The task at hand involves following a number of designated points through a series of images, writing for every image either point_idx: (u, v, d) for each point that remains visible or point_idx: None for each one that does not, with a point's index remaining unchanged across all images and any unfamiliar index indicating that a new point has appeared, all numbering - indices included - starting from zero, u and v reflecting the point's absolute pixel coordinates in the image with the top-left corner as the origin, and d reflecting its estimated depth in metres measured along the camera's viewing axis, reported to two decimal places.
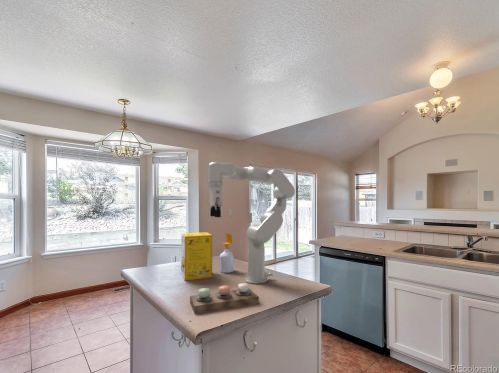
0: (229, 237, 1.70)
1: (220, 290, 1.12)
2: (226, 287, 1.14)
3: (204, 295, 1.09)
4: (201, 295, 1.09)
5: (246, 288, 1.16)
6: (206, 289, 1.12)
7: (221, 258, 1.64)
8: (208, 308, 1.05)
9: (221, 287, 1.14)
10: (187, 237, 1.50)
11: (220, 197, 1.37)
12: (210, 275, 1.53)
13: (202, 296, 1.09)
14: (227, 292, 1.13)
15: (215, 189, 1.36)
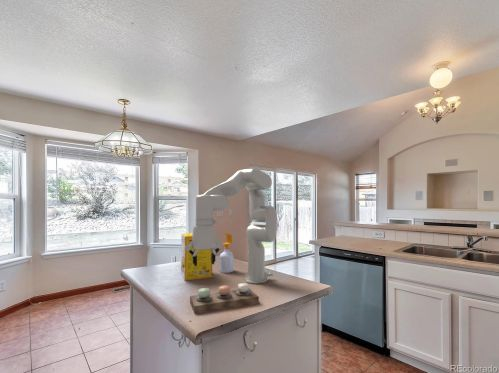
0: (229, 237, 1.70)
1: (220, 290, 1.12)
2: (226, 287, 1.14)
3: (204, 295, 1.09)
4: (201, 295, 1.09)
5: (246, 288, 1.16)
6: (206, 289, 1.12)
7: (221, 258, 1.64)
8: (208, 308, 1.05)
9: (221, 287, 1.14)
10: (187, 237, 1.50)
11: None
12: (210, 275, 1.53)
13: (202, 296, 1.09)
14: (227, 292, 1.13)
15: (214, 228, 1.13)
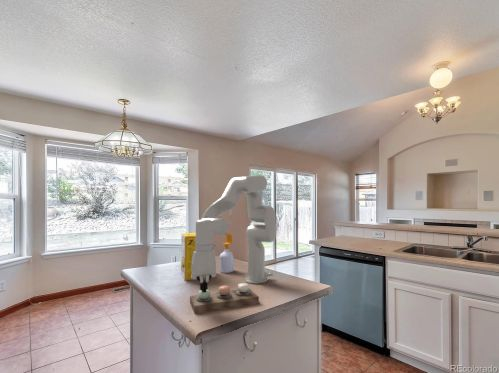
0: (229, 237, 1.70)
1: (220, 290, 1.12)
2: (226, 287, 1.14)
3: (204, 297, 1.09)
4: (201, 296, 1.09)
5: (246, 288, 1.16)
6: (206, 290, 1.12)
7: (221, 258, 1.64)
8: (208, 308, 1.05)
9: (221, 287, 1.14)
10: (187, 237, 1.50)
11: None
12: None
13: (202, 297, 1.09)
14: (227, 292, 1.13)
15: (214, 253, 1.12)
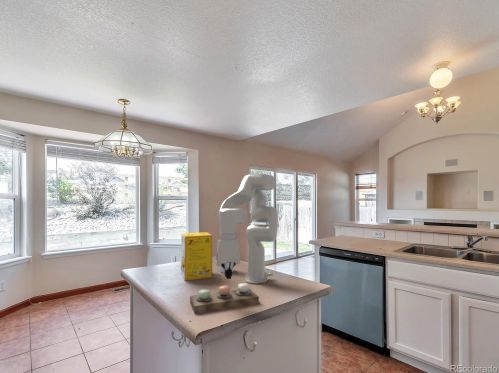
0: None
1: (220, 290, 1.12)
2: (226, 287, 1.14)
3: (204, 297, 1.09)
4: (201, 297, 1.09)
5: (246, 288, 1.16)
6: (206, 290, 1.12)
7: None
8: (208, 308, 1.05)
9: (221, 287, 1.14)
10: (187, 237, 1.50)
11: None
12: (210, 275, 1.53)
13: (202, 298, 1.09)
14: (227, 292, 1.13)
15: None
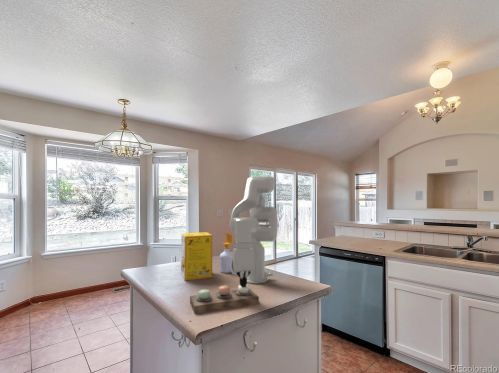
0: (229, 237, 1.70)
1: (220, 290, 1.12)
2: (226, 287, 1.14)
3: (204, 297, 1.09)
4: (201, 297, 1.09)
5: (246, 289, 1.16)
6: (206, 290, 1.12)
7: (221, 258, 1.64)
8: (208, 308, 1.05)
9: (221, 287, 1.14)
10: (187, 237, 1.50)
11: None
12: (210, 275, 1.53)
13: (202, 298, 1.09)
14: (227, 292, 1.13)
15: (252, 250, 1.19)
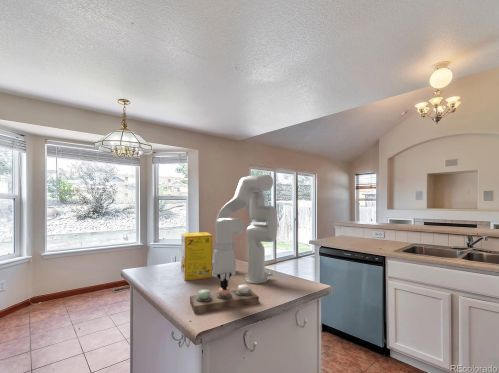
0: None
1: (220, 292, 1.12)
2: None
3: (204, 297, 1.09)
4: (201, 297, 1.09)
5: (246, 289, 1.16)
6: (206, 290, 1.12)
7: None
8: (208, 308, 1.05)
9: (221, 288, 1.14)
10: (187, 237, 1.50)
11: None
12: (210, 275, 1.53)
13: (202, 298, 1.09)
14: (227, 293, 1.12)
15: None
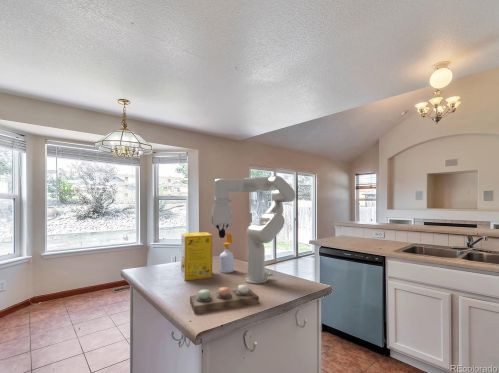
0: (229, 237, 1.70)
1: (220, 292, 1.12)
2: (226, 288, 1.14)
3: (204, 297, 1.09)
4: (201, 297, 1.09)
5: (246, 289, 1.16)
6: (206, 290, 1.12)
7: (221, 258, 1.64)
8: (208, 308, 1.05)
9: (221, 288, 1.14)
10: (187, 237, 1.50)
11: None
12: (210, 275, 1.53)
13: (202, 298, 1.09)
14: (227, 293, 1.12)
15: None
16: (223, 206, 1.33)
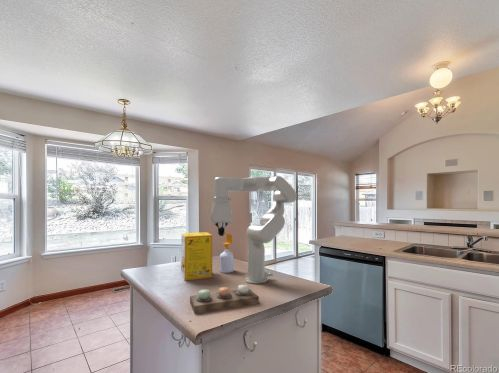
0: (229, 237, 1.70)
1: (220, 292, 1.12)
2: (226, 288, 1.14)
3: (204, 297, 1.09)
4: (201, 297, 1.09)
5: (246, 289, 1.16)
6: (206, 290, 1.12)
7: (221, 258, 1.64)
8: (208, 308, 1.05)
9: (221, 288, 1.14)
10: (187, 237, 1.50)
11: None
12: (210, 275, 1.53)
13: (202, 298, 1.09)
14: (227, 293, 1.12)
15: (229, 205, 1.37)
16: (223, 204, 1.34)
